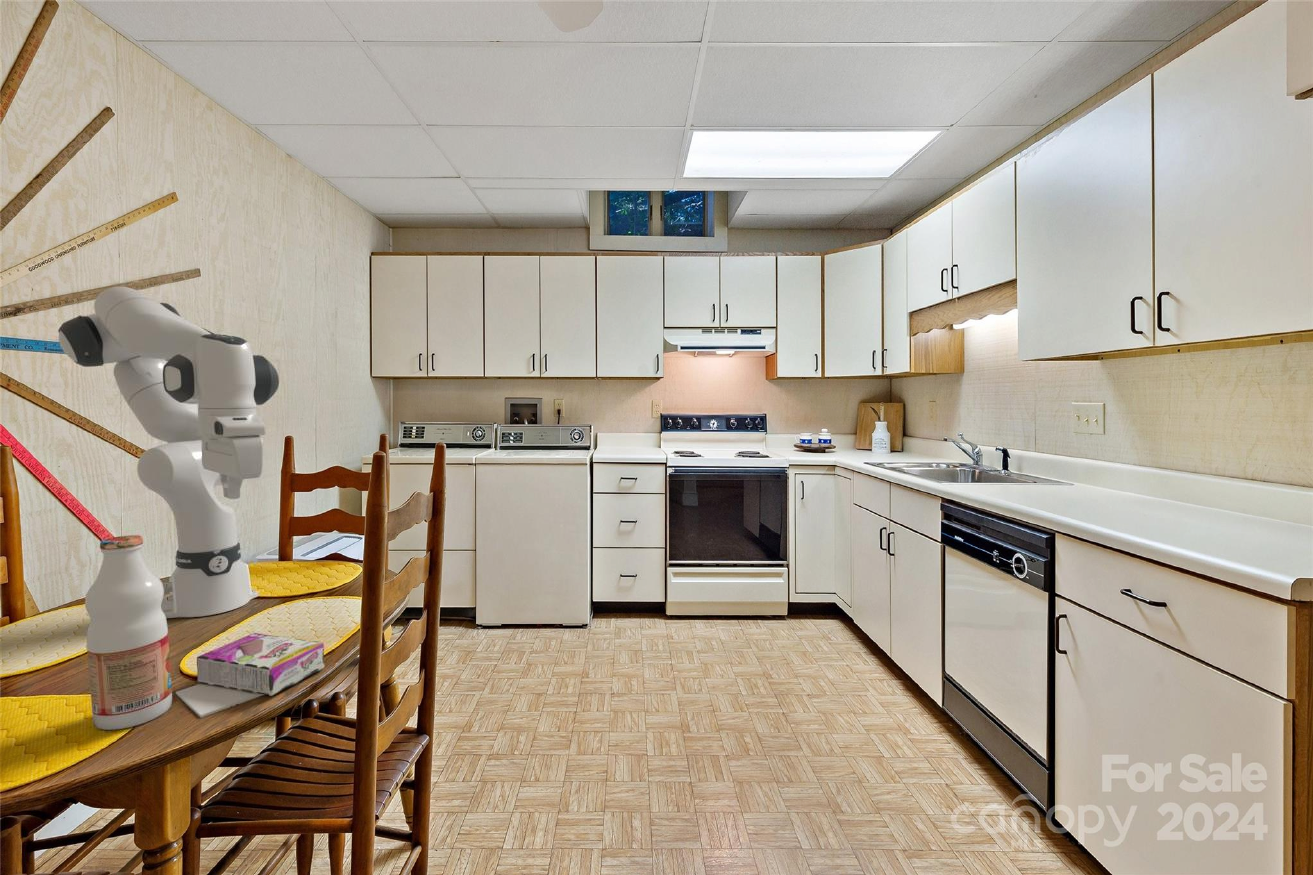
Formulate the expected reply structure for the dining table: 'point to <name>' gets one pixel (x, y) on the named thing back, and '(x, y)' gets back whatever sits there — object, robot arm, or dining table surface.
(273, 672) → the candy bar box
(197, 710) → the mat
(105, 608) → the fruit juice
